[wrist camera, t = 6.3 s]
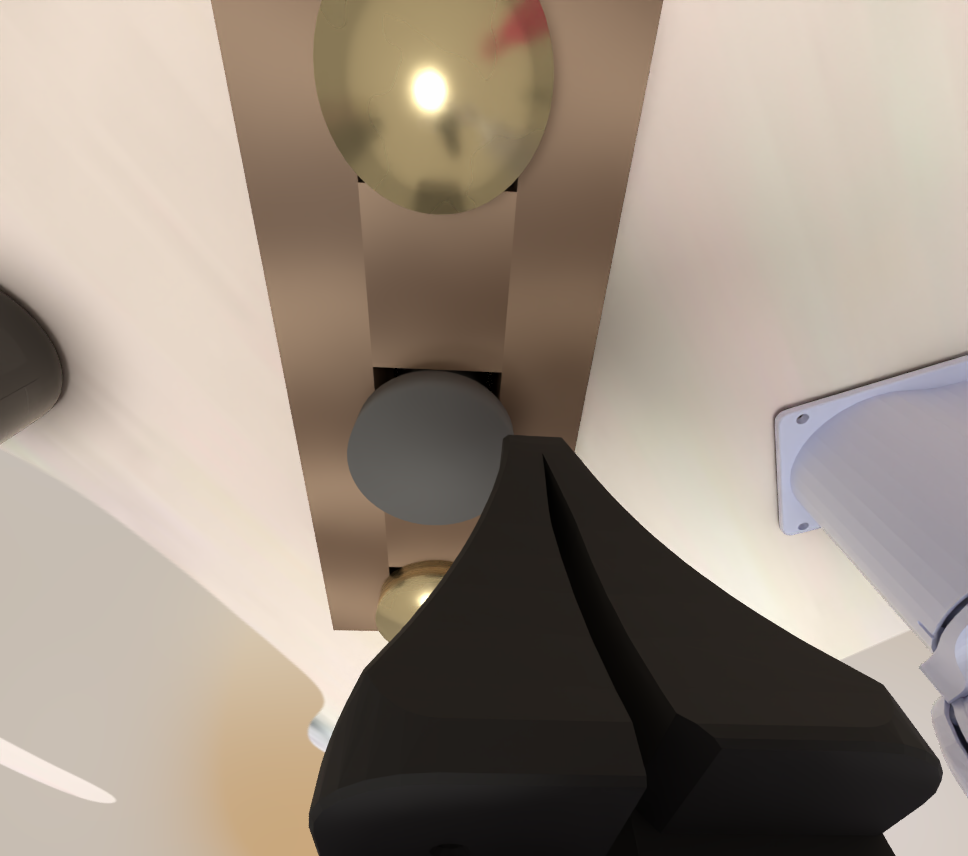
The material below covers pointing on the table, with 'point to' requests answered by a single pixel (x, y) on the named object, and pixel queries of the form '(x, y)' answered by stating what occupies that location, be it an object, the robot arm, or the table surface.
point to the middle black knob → (429, 445)
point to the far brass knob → (407, 594)
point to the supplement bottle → (25, 369)
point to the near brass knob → (435, 95)
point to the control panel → (429, 263)
